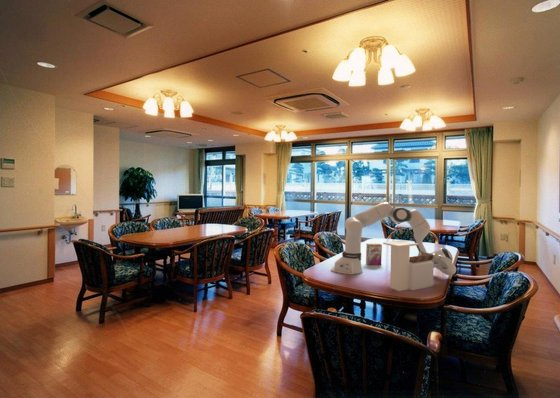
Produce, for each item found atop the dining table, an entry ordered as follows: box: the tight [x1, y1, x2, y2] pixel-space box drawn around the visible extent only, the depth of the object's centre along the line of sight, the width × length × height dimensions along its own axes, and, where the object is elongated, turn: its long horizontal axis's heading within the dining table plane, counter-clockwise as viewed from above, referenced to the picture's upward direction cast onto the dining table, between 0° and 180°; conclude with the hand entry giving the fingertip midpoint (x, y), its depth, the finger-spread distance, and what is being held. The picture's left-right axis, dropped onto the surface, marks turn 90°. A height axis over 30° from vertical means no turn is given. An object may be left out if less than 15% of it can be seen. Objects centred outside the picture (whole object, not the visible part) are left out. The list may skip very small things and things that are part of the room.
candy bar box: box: [365, 243, 383, 266], centre depth 253 cm, size 11×5×16 cm, turn 92°
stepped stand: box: [382, 240, 435, 292], centre depth 197 cm, size 31×12×28 cm, turn 118°
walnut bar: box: [409, 254, 433, 263], centre depth 202 cm, size 18×3×3 cm, turn 118°
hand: (426, 253), depth 204 cm, fingers open, 8 cm apart
